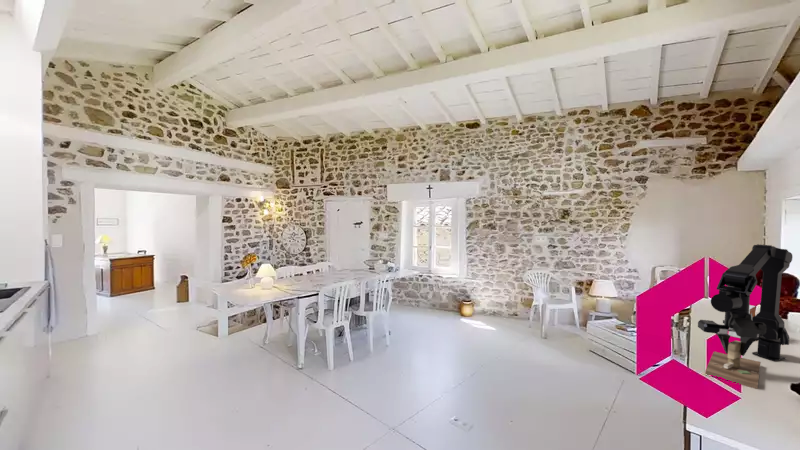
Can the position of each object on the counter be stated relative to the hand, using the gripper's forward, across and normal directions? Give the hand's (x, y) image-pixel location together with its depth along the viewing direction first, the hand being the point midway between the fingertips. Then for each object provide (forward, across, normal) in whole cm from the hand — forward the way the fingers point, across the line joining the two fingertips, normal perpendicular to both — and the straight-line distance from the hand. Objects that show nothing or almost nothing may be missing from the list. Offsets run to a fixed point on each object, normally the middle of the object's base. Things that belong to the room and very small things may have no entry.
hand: (734, 354), depth 118 cm
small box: (+5, +19, +41) cm, 46 cm away
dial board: (+6, 0, 0) cm, 6 cm away
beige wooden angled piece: (+4, -1, -1) cm, 4 cm away
